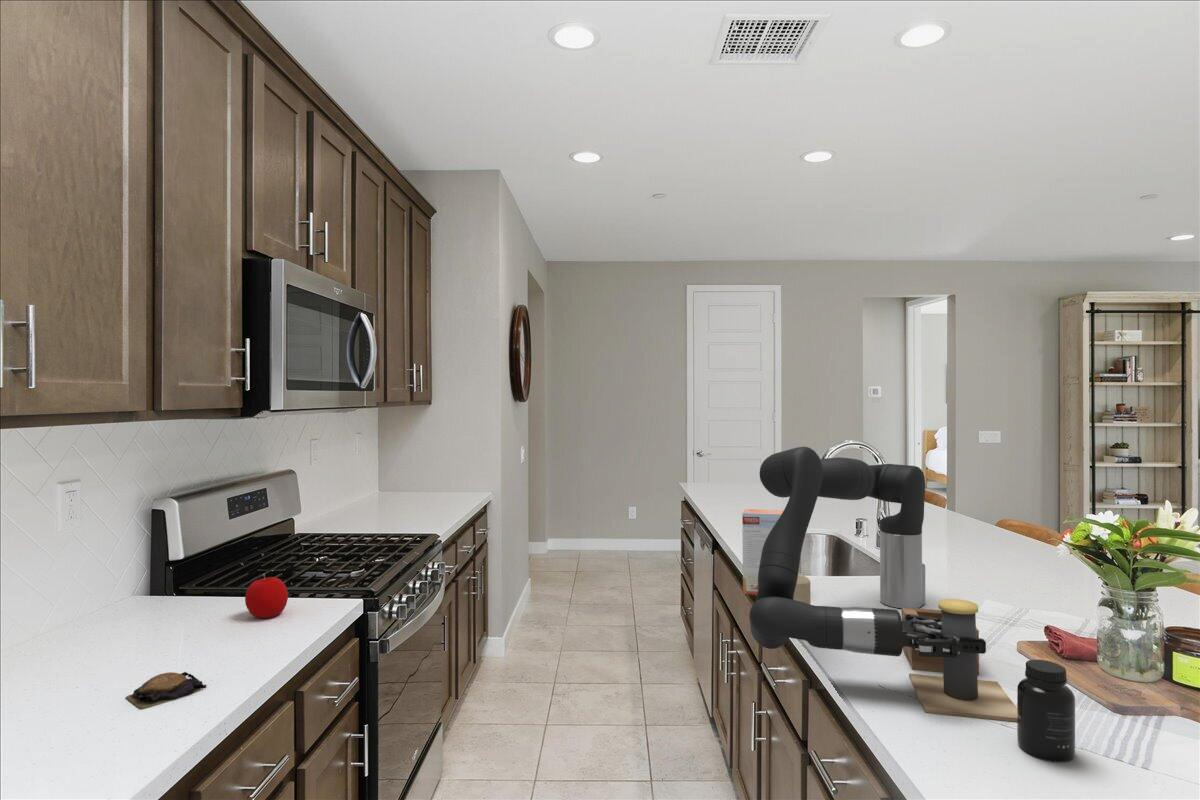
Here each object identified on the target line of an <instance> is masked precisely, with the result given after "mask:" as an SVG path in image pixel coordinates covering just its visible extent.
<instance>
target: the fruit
mask: <svg viewBox="0 0 1200 800" xmlns="http://www.w3.org/2000/svg"><path fill="white" fill-rule="evenodd" d="M265 574H266V573H263V574H262V576H263V578H260V579H257V580H254V581H253V582H252V583H251V584H250V585H249V586H248V587H247V590H246V592H245V597H244V598H245V599H244V601H245V607H246V608H247V610H248V612H249V613H250V614H251V615H252V616H253V617H254V618H259V619H271V618H274V617H276V616H278V615H280V614H281V613H282V612H283V611H284V610H285V608H286V606H287V604H288V600H289V592H288V588H287V587H286V584H285V583H284V581H282V580H281V579H279V578H278V577H275V576H269V577H266V575H265Z"/></svg>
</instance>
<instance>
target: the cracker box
mask: <svg viewBox="0 0 1200 800" xmlns="http://www.w3.org/2000/svg"><path fill="white" fill-rule="evenodd" d="M783 511H784V510H777V509H776V510H774V509H748V508H746V509H745V510H744V511H743V512H741V513H742V520H741V521H742V592H743V594H744V595H754V596H757V593H758V571H759V565H760V560H761V554H762V549H763V546H764V543H765V541H766V538H767V537H768V535H769V533H770V531H771V530H772V528H773V527H774V525H775V524H776V522H777V521H778V519H779V518H780V516H781V514H782V513H783ZM801 559H802V556H801V557H800V564H799V573H801V574H802V562H801V561H802V560H801Z"/></svg>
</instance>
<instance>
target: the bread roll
mask: <svg viewBox="0 0 1200 800" xmlns="http://www.w3.org/2000/svg"><path fill="white" fill-rule="evenodd" d="M207 686H208V685H207V684H203V681H202V680H199V679H198V678H197V677H195V676H194V675H193V674H191V673H188V672H186V671H184V672H181V673H178V672H162V673H160V674H157V675H155V676H153V677H150V678H149V679H148V680H146V681H145V682H144V683H142V684H141V686H139V687H137V688H135V689H134V690H133V693H132V694H129V695H127V696H125V700H127V701H128V702H129V703H131V704H132V705H133V706H135V708H137V709H138V710H146V709H150V708H152V707H156V706H160V705H163V704H165V703H169V702H172V701H175V700H179V699H181V698H185V697H188V696H190V695H193V694H195V693H198V692H201V691H203V690H204V689H207Z"/></svg>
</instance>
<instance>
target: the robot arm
mask: <svg viewBox="0 0 1200 800" xmlns="http://www.w3.org/2000/svg"><path fill="white" fill-rule="evenodd" d="M759 479H760V482H761V483H762V486H763V487H764V488H765V490H766V491H768V493H770V494H771V495H773V496H775V497H777V498H788V500H787V504H786V505H785V507H784V510H782V511H783V513H782V514H781V516H780V518H779V519H778V521H777V522H776V524H775V525H774V527H773V528H772V530H771V531H770V533H769V535H768V537H767V538H766V541H765V543H764V546H763V549H762V554H761V560H760V565H759V571H758V593H757V595H756V599H755V602H754V603H753V604H752V605H751V607H750V610H749V627H750V632H751V636H752V638H753V639H754V640H755V642H756V643H757V644H758V645H759V646H761V647H762V648H766V649H769V650H773V649H775V650H776V649H779V648H781V647H782V646H784V645H785V644H786V643H787V641H788V640H789V639H796V640H802V641H805V642H806V643H808V644H809V646H811V647H814V648H818V649H828V650H837V651H838V650H839V651H846V652H851V653H855V654H865V655H875V656H876V655H878V656H886V657H887V656H888V657H900V656H901V655H902V654H903V649H902V648H903V647H904V646H907V647H911V648H914V649H915V650H918V655H919V656H922V657H953V658H957V657H958V654H959V653H960V652H968V653H979V655H980V654H981V655H983V654H985V653H987V643H986V640H985V639H983V638H980V637H979V638H969V637H957V636H952V635H947V634H945V633H944V632H943V631H942V619H941V618H933V617H925V616H917V615H910V614H906V615H905V621H902V615H901V613H900V612H899V611H898V610H897V609H890V608H875V607H863V606H862V607H861V606H848V607H847V606H845V607H844V606H840V607H839V606H830V605H829V606H827V605H815V604H814V605H813V604H811V605H810V604H807V603H804V602H800V601H796V600H793V598H794V592H795V588H796V584H797V578H798V572H799V564H800V557H801V558H802V550H803V545H804V541H805V539H806V538H805V537H806V534H807V531H808V527H809V524H810V522H811V519H812V516H813V513H814V509H815V506H816V503H817V500H818V498H827V499H837V500H844V501H845V500H847V501H858V500H859V501H860V500H863V499H865V498H867V497H868V498H872V499H876V500H880V501H883V502H887V503H895V504H900V509H899V511H898V513H896V514H893V515H889V516H884V517H882V518H881V519H880V521H879V575H880V576H879V593H880V594H879V599H880V600H879V601H880V602H881V604H883V605H886V606H888V607H891V608H898V609H902V607H906V608H921V607H922V606H923V605H926V564H925V563H923V525H924V518H925V499H926V498H925V497H926V478H925V475H924V472H923V470H922V468H920V467H918V466H915V465H908V464H896V463H881V464H872V465H871V464H870V465H869V464H868V463H866V462H865V461H863V460H860V459H857V458H849V457H838V456H837V457H829V458H826V457H825V458H820V456H819V454H818V453H817V452H816V451H815V450H814V449H813V448H811V447H808V446H798V447H797V446H796V447H793V448H789V449H786V450H783V451H779V452H776V453H773V454H770V455H769V456H768V457H766V458H765V459H764V460H763V462H762V463H761V465H760V468H759ZM928 625H929V626H928ZM945 645H950V647H947V646H945ZM943 651H946V652H943Z"/></svg>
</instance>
